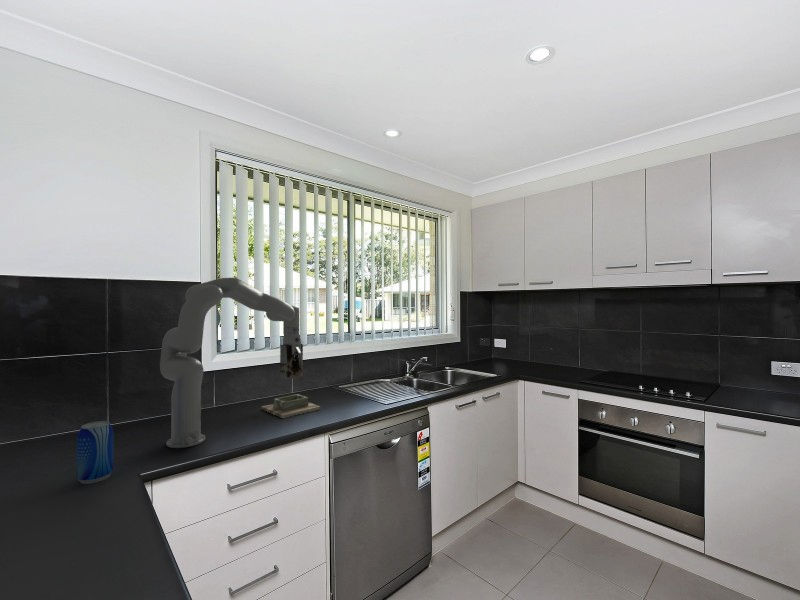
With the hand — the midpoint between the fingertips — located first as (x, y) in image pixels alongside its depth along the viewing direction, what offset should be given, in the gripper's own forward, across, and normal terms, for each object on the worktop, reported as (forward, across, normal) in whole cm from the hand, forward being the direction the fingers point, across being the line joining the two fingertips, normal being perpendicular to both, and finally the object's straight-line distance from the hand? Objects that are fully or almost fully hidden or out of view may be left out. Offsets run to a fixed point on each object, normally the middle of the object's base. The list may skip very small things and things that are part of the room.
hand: (291, 367), depth 183 cm
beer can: (+20, -22, +77) cm, 83 cm away
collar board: (+20, 0, 0) cm, 20 cm away
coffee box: (+5, 0, 0) cm, 5 cm away
